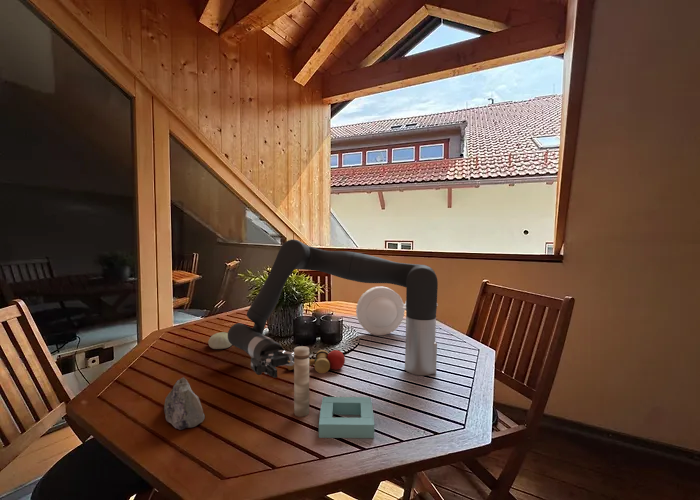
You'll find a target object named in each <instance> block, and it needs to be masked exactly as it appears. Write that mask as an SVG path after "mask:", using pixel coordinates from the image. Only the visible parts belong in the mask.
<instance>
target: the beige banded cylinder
mask: <svg viewBox="0 0 700 500" xmlns="http://www.w3.org/2000/svg"><path fill="white" fill-rule="evenodd" d="M293 349H294V369H293V381H294V382H293V383H294V384H293V386H294V387H293V394H294V395H293V404H294V405H293V406H294V408H293V411H294V413H293V414H294V415H295V416H296V417H306V416H308V415H309V414H310V366H309V359H310V347H309V346H303V345H301V346H296V347H294V348H293Z"/></svg>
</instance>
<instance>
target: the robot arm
mask: <svg viewBox="0 0 700 500" xmlns="http://www.w3.org/2000/svg"><path fill="white" fill-rule="evenodd" d="M295 270H304V271H305V270H306V271H307V270H308V271H316V272H323V273H325V274H329V275H331V276H334V277H338V278H340V279H343V280H348V281H353V282H358V283H363V284H387V285H388V284H389V285H390V284H391V285H396V286H400V287H403V288H406V295H405V298H406V299H405V301H406V310H405V311H406V312H405V315H406V316H405V348H404V349H405V350H404V352H405V353H404V354H405V355H404V369H405V371H406V372H407V373H409V374H412V375H416V376H430V375H433V374H437V361H438V360H437V359H438V358H437V357H438V356H437V355H438V343H437V342H436V331H437V325H436V323H437V309H438V306H437V304H438V285H439V284H438V283H439V281H438V277H437V273H436V272H435V270H434V269H433V268H432V267H430V266H428V265H426V264H415V263H406V262H398V261H397V262H396V261H394V260H393V261H392V260H389V259H387V258H382V257H378V256H374V255H370V254H365V253H361V252H355V251H347V250H346V251H345V250H344V251H343V250H324V249H321V248H316V247H315V246H314V247H313V246H311V245H307V244H306V243H304V242H302V241H300V240H298V239H289V240H286V241H285V242H284V243H283V244H282V245H281V246H280V248H279V250H278V252H277V254H276V257H275V260H274V263H273V264H272V267H271V269H270V271H269V273H268V275H267V278H266V280H265V282H264V283H263V284H262V287H261V289H260V290H259V291H258V294H257V295H256V296H255V298H254V300H253V302H252V303H251V304H250V306H249V308H248V310H247V311H246V317H247V318H248V320H250V321H251V322H253V326H249V325H247V324H244V323H240V322H239V323H238V322H236V323H234V324H233V325H231V327H230V328H229V330H228V332H227V333H228V340H229V342H230V343H231V344H232V345H231V346H234V347H236V348H238V349H240V350H242V351H244V352H245V353H246V354H247V355H249V356H250V369H251V370H252V371H253V372H254V373H255V374H256V375H258V376H261V375H262V374H263V373H264V375H268V376H270V377H272V378H273V379H275V378H277V377H278V369H277V367H282V366H287V367H288V366H292V365H294V348H292V351H287V350H284V348H283V346H282V344H280V343H278V342H277V341H275V340H274V339H272V338H271V337H268V336H266V335H264V334H263V333H264V330H265V327H266V324H267V321H268V320H269V318H270V317H271V315H272V313H273V312H274V310H275V308H276V306H277V304H278V303H279V299H280V298H281V294H282V292H283V291H282V290H283V289H284V287H285V283H287V281H288V279H289V277H290V276H291V275H292V273H293V272H294V271H295ZM288 361H290V362H288Z"/></svg>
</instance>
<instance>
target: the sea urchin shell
mask: <svg viewBox="0 0 700 500" xmlns="http://www.w3.org/2000/svg"><path fill="white" fill-rule="evenodd" d="M207 343H208V346H209V347H210V348H211V349H213V350H223V349H228V348H230V347H232V346H233V345H232V344H231V343H230V342H229V340H228V332H225V331H222V332H216V333H214V334H212V335H211V336H210V337H209V339H208V341H207Z"/></svg>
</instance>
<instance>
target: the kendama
mask: <svg viewBox="0 0 700 500" xmlns="http://www.w3.org/2000/svg"><path fill="white" fill-rule="evenodd" d="M288 362H290V360H288ZM345 363H346V357H345V355H344V354H343V352H342V351H341V350H337V349H335V350H331V351H330V352H328V351H327V350H324V349H319V350H318V351H317V352H316V353H315V359H314V358H313V359H312V358H311V359H310V358H309V367H311V366H314V370H315V371H316V372H317V373H319V374H325V373H327V372H328V371H329V370H330V369H331V370H333V371H334V370H335V371H337V370H340V369H342V368H343V367H344V366H345ZM287 370H288V371H294V365H292V366H287Z"/></svg>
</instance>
